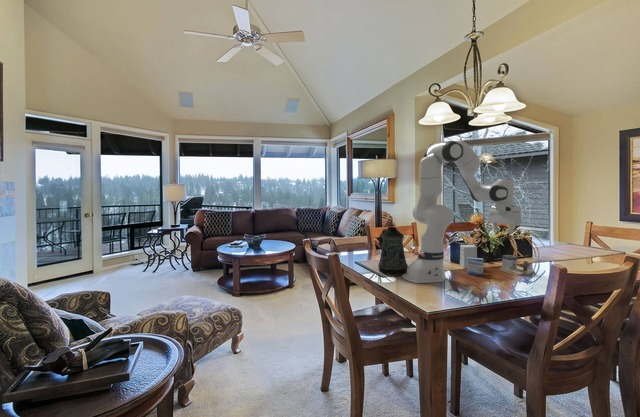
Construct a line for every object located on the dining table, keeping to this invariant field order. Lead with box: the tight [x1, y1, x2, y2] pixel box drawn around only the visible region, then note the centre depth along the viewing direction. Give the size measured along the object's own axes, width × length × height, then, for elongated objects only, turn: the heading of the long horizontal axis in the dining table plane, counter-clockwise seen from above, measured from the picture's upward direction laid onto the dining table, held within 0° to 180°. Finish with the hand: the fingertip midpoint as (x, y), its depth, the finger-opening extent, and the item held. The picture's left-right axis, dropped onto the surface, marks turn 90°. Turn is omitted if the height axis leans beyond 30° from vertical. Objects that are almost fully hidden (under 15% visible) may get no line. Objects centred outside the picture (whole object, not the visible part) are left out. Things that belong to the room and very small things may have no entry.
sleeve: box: [501, 254, 518, 270], centre depth 183 cm, size 5×5×7 cm
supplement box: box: [459, 244, 478, 269], centre depth 192 cm, size 7×7×13 cm
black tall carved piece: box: [377, 226, 409, 276], centre depth 187 cm, size 16×19×25 cm
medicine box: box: [466, 257, 485, 276], centre depth 178 cm, size 8×4×9 cm, turn 62°
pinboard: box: [498, 260, 536, 276], centre depth 181 cm, size 12×12×6 cm
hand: (502, 231), depth 185 cm, fingers open, 8 cm apart
